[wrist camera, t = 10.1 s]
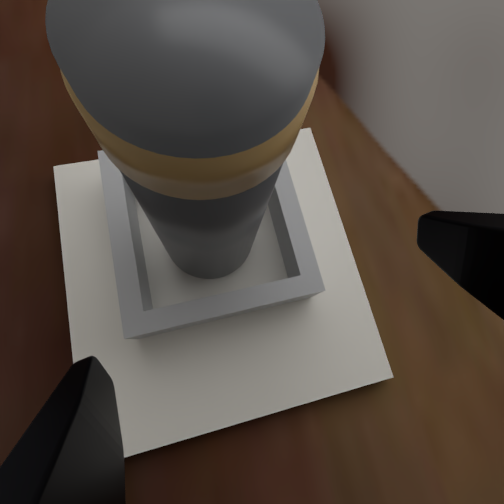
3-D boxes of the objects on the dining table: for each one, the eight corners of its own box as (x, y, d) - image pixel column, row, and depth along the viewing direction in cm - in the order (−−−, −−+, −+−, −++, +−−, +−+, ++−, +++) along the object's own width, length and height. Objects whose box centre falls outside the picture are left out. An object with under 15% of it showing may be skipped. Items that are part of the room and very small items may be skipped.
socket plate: (384, 375, 18) (421, 383, 15) (92, 461, 16) (57, 494, 12) (306, 137, 22) (322, 100, 19) (61, 175, 19) (28, 140, 16)
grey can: (243, 290, 18) (305, 173, 5) (151, 268, 17) (-16, 92, 5) (262, 206, 19) (346, -42, 7) (177, 185, 19) (100, -111, 6)
